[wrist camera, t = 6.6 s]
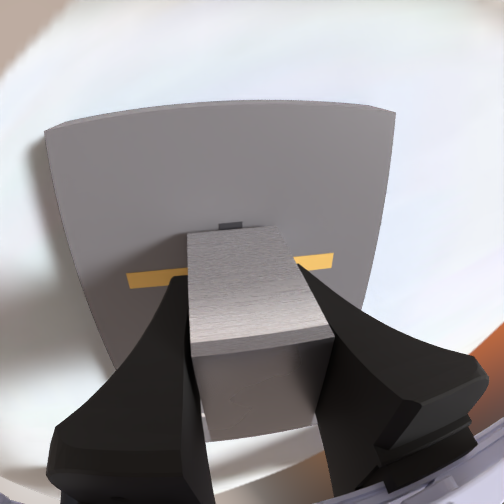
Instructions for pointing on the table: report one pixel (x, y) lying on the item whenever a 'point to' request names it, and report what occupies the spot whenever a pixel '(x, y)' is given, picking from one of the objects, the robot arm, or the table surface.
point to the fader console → (216, 196)
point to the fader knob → (254, 333)
